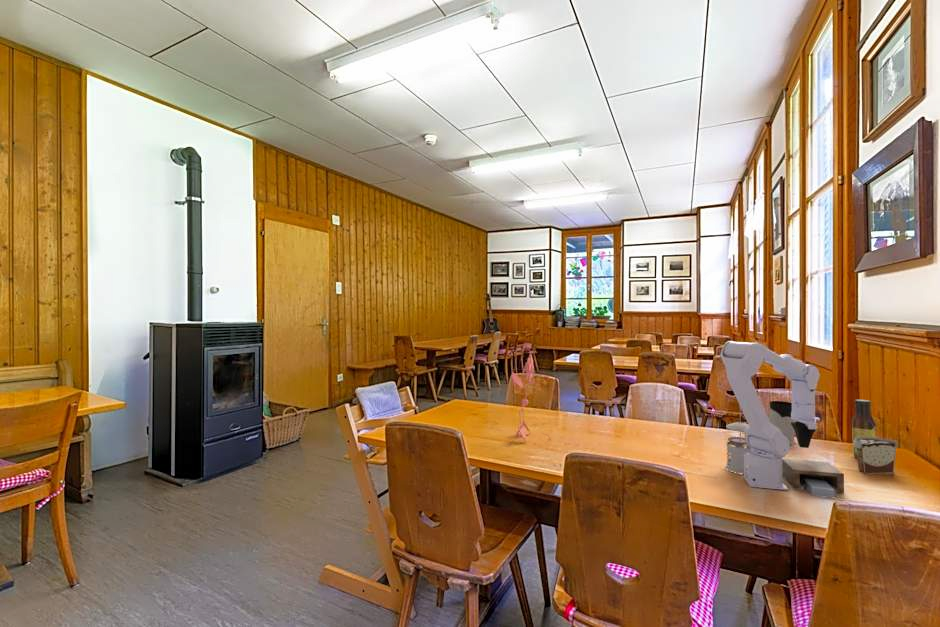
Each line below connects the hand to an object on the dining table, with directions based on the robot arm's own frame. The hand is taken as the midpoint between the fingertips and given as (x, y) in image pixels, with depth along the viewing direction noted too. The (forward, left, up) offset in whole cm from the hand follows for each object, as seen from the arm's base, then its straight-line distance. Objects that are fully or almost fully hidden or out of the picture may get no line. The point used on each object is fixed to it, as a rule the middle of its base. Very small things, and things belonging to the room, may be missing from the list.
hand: (803, 447), depth 137 cm
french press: (-16, +3, -10) cm, 19 cm away
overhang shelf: (0, -6, -9) cm, 11 cm away
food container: (+22, +13, -10) cm, 27 cm away
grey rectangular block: (0, -11, -10) cm, 15 cm away
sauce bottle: (+26, +26, -10) cm, 38 cm away
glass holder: (+9, +42, -10) cm, 44 cm away
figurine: (-88, +19, -10) cm, 91 cm away
